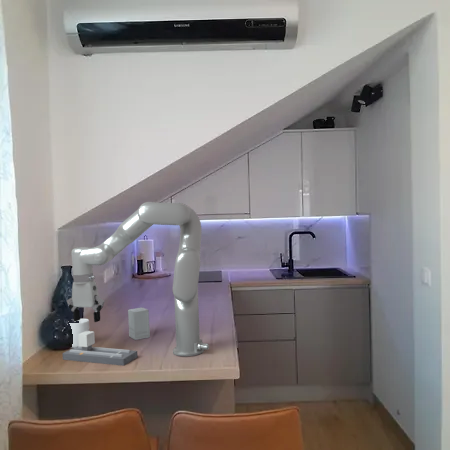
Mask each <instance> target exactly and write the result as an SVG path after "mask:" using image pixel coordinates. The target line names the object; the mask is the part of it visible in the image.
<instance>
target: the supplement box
mask: <svg viewBox="0 0 450 450" xmlns="http://www.w3.org/2000/svg"><path fill="white" fill-rule="evenodd" d="M149 316H150V312H149V309H148V308H146V307H145V308H144V307H137V308H131V309H128V310H127V317H128V318H127V320H128V335H129V336H128V337H129V338H131V339H133V340H134V341H137V340H142V339H147V338H150V337H151V332H150V317H149Z"/></svg>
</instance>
